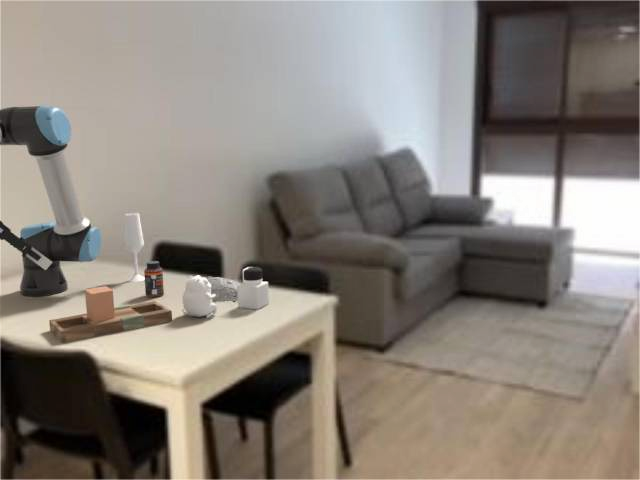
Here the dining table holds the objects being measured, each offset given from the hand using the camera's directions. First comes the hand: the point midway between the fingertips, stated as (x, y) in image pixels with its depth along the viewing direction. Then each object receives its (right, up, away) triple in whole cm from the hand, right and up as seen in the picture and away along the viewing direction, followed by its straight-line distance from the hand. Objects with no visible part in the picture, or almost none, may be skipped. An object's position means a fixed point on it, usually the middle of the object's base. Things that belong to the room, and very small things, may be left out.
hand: (44, 262), depth 184 cm
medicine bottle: (+53, -15, +31) cm, 63 cm away
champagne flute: (+7, -8, +66) cm, 67 cm away
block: (+12, -16, +11) cm, 23 cm away
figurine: (+38, -17, +21) cm, 46 cm away
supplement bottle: (+19, -12, +45) cm, 50 cm away
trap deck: (+14, -18, +13) cm, 27 cm away
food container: (+41, -13, +45) cm, 62 cm away
